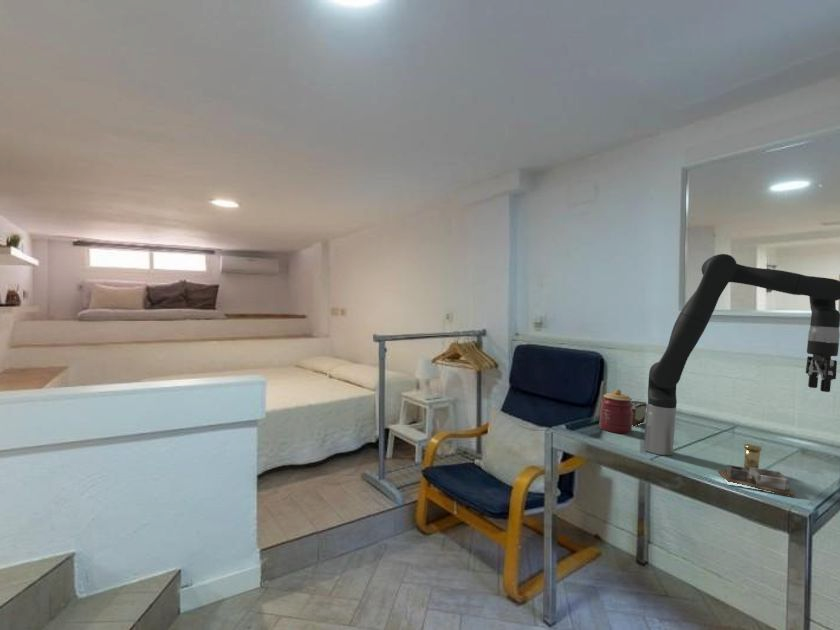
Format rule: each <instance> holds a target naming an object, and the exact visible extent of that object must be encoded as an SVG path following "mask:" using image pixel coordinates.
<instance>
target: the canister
mask: <svg viewBox="0 0 840 630" xmlns="http://www.w3.org/2000/svg"><path fill="white" fill-rule="evenodd" d="M631 401H633V399H632V397H630V396H629V395H627V394H624V393H622V390H620V389H618V388H616V389H615V390H614V391H613V392H607V393H605V394H603V398H602V399H601V400H600V402H601V407H599V408H600V411H599V412H600V413H599V415H600V416H599V423H598V426H599V428H600V429H602V430H603V431H607V432H611V433H615V434H630V433H632V429H633V426H632V414H633V412H632V407H633V406H634V405H633V404H632V403H631Z"/></svg>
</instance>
